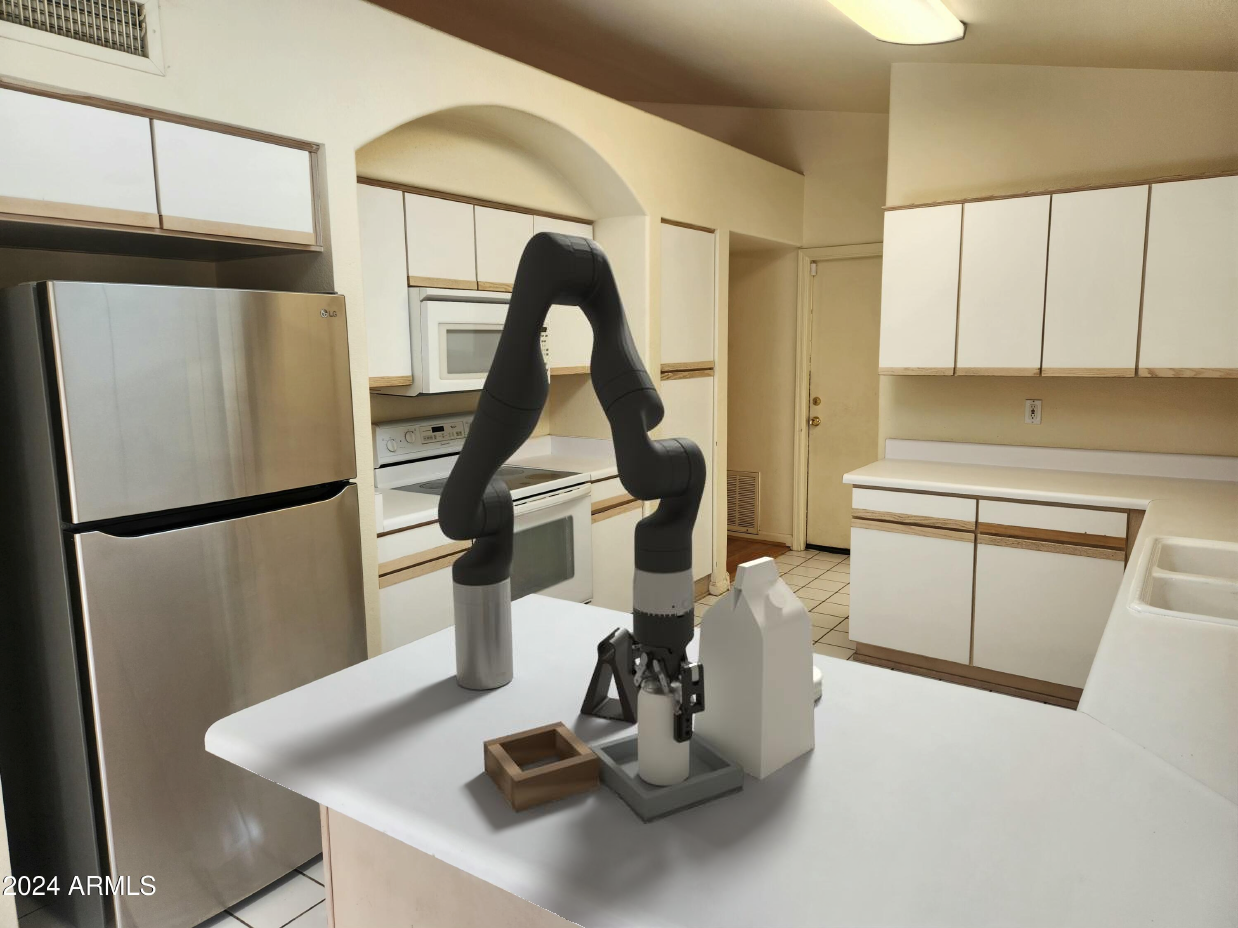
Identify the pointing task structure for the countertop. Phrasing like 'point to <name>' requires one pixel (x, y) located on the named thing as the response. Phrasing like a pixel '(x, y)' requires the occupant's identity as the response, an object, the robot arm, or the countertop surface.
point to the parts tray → (704, 783)
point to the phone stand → (609, 664)
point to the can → (659, 738)
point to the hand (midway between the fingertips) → (663, 726)
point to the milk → (757, 672)
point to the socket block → (543, 782)
